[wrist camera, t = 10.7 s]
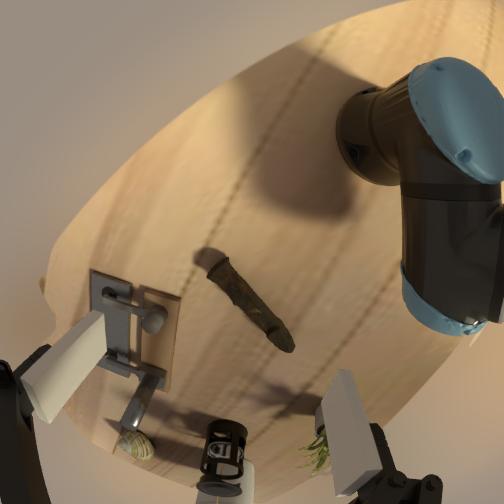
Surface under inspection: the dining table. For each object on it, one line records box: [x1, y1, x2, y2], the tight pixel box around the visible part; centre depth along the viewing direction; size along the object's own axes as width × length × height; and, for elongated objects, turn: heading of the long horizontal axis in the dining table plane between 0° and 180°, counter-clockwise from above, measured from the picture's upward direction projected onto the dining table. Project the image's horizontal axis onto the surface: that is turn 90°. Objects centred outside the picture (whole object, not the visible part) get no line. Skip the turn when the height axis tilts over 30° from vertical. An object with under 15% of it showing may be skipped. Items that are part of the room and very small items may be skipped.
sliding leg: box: [106, 355, 167, 431], centre depth 39 cm, size 13×3×14 cm, turn 76°
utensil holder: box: [196, 459, 254, 504], centre depth 49 cm, size 15×15×18 cm
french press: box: [196, 420, 248, 504], centre depth 42 cm, size 12×9×23 cm
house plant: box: [296, 405, 331, 477], centre depth 42 cm, size 14×14×16 cm
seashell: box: [118, 431, 155, 461], centre depth 53 cm, size 10×10×10 cm
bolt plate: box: [91, 271, 132, 378], centre depth 45 cm, size 8×22×1 cm, turn 166°
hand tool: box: [207, 257, 295, 353], centre depth 41 cm, size 19×4×5 cm, turn 38°
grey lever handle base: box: [103, 289, 181, 393], centre depth 43 cm, size 14×22×6 cm, turn 166°
